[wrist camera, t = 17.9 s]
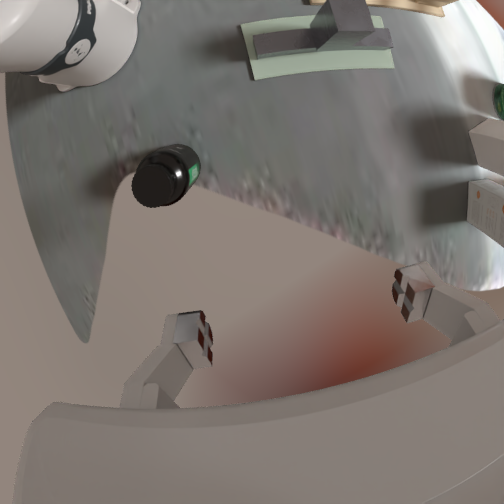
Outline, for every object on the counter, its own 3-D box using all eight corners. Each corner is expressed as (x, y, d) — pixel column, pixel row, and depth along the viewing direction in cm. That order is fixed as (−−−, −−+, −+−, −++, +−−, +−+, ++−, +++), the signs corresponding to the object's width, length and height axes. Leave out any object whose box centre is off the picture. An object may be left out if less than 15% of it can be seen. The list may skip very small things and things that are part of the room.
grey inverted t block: (258, 62, 31) (260, 38, 20) (251, 38, 30) (250, 4, 18) (385, 53, 29) (433, 37, 18) (379, 30, 28) (423, 7, 16)
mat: (254, 80, 33) (254, 79, 33) (240, 25, 29) (240, 24, 29) (393, 68, 31) (394, 68, 30) (379, 17, 27) (380, 16, 26)
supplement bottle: (210, 159, 38) (193, 177, 28) (186, 197, 41) (162, 228, 30) (171, 135, 37) (140, 144, 26) (148, 173, 39) (113, 197, 29)
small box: (485, 216, 41) (526, 245, 30) (465, 220, 42) (507, 252, 30) (488, 177, 38) (534, 200, 26) (467, 180, 38) (515, 205, 27)
